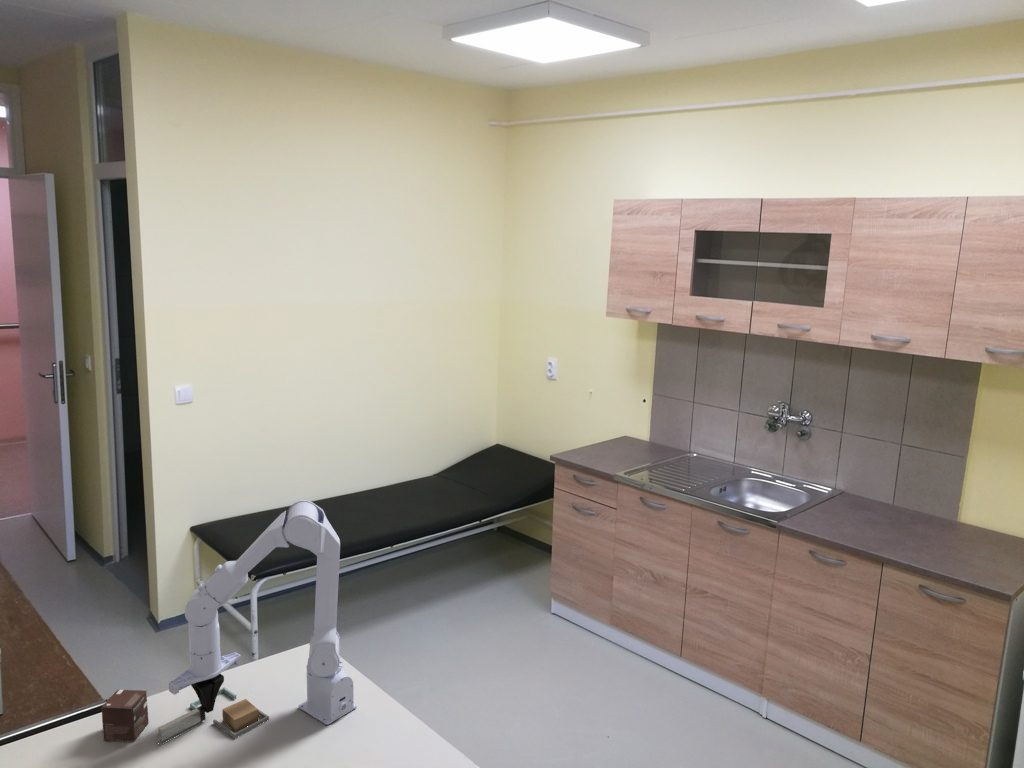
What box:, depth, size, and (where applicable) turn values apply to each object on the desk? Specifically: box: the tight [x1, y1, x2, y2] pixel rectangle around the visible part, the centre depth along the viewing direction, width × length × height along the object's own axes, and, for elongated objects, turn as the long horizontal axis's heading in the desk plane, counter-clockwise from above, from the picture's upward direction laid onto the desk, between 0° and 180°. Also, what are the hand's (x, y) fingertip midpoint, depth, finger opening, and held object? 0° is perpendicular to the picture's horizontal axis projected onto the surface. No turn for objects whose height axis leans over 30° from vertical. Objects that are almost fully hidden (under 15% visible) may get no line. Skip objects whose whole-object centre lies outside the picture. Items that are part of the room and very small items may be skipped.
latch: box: [157, 705, 206, 741], centre depth 148 cm, size 1×9×2 cm, turn 143°
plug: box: [221, 698, 259, 733], centre depth 152 cm, size 5×5×3 cm
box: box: [101, 689, 149, 743], centre depth 147 cm, size 6×6×7 cm
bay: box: [189, 687, 237, 710], centre depth 158 cm, size 4×8×1 cm, turn 143°
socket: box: [155, 709, 270, 746], centre depth 149 cm, size 11×18×1 cm, turn 143°
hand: (207, 709), depth 153 cm, fingers closed
